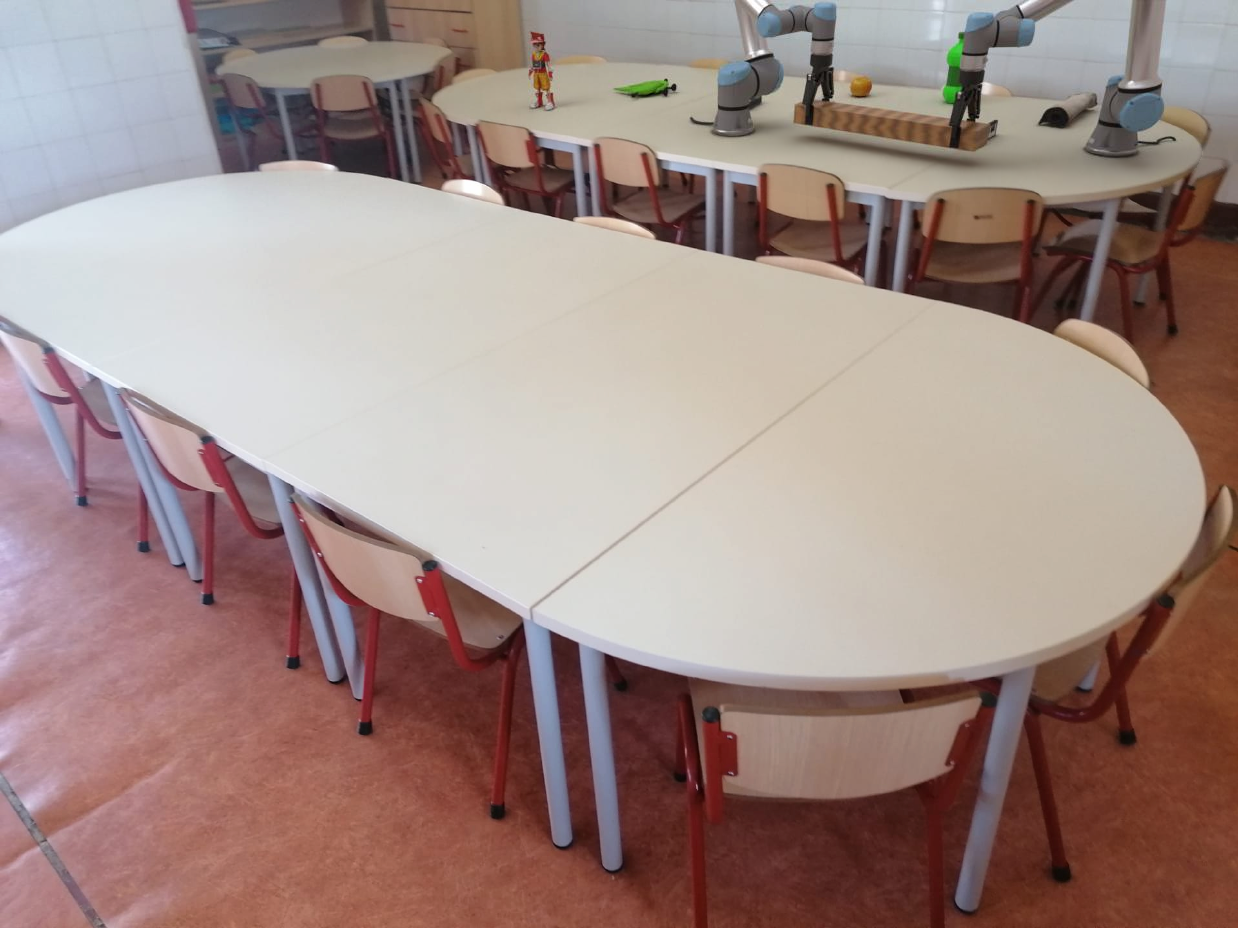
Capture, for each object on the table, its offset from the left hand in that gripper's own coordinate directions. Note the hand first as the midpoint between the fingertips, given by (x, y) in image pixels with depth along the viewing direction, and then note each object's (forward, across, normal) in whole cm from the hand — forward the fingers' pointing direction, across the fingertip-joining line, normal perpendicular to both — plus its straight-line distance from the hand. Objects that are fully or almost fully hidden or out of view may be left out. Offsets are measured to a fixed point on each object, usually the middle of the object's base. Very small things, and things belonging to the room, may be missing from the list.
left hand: (816, 121), depth 319 cm
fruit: (+7, +64, +19) cm, 67 cm away
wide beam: (0, 0, -27) cm, 27 cm away
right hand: (0, 0, -54) cm, 54 cm away
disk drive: (+7, +26, +51) cm, 57 cm away
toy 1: (+7, -18, +124) cm, 125 cm away
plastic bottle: (+7, +73, -18) cm, 75 cm away
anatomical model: (+7, +26, +11) cm, 29 cm away
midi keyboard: (+6, +28, -50) cm, 58 cm away
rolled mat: (+6, +71, -62) cm, 95 cm away
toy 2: (+8, +24, +105) cm, 108 cm away
